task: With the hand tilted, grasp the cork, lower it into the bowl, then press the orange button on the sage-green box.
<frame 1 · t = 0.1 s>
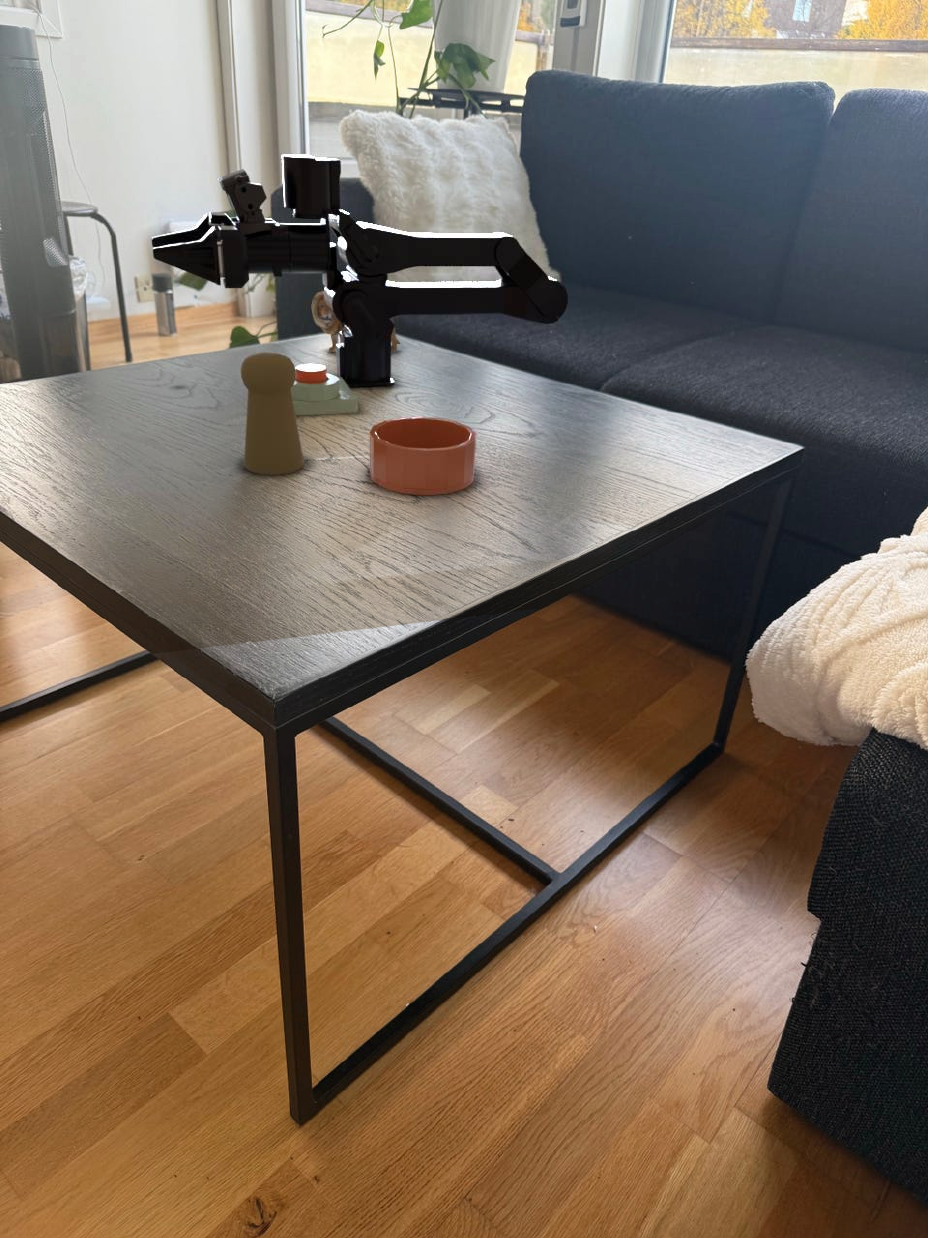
hand: (152, 247, 104), 17 cm above the table, tool horizontal, fingers open, 9 cm apart
bowl: (422, 475, 89), on the table
lion figurine: (356, 353, 133), on the table
button: (311, 374, 106), point 4 cm above the table, slide at 0.1 cm
cork: (274, 466, 90), on the table
button box: (309, 402, 110), on the table
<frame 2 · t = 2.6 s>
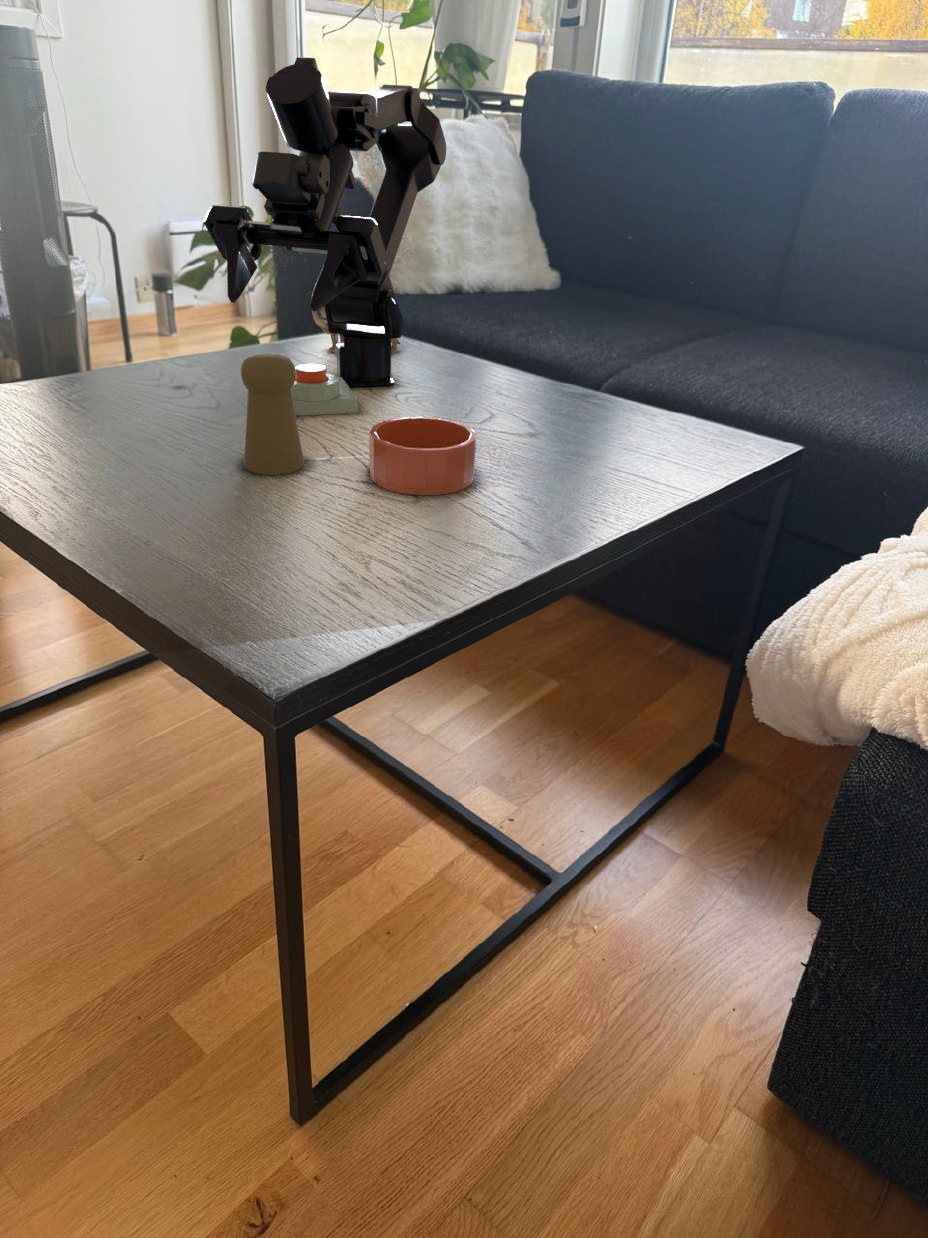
hand: (271, 304, 91), 14 cm above the table, tool tilted 50°, fingers open, 9 cm apart
nothing on the table moved.
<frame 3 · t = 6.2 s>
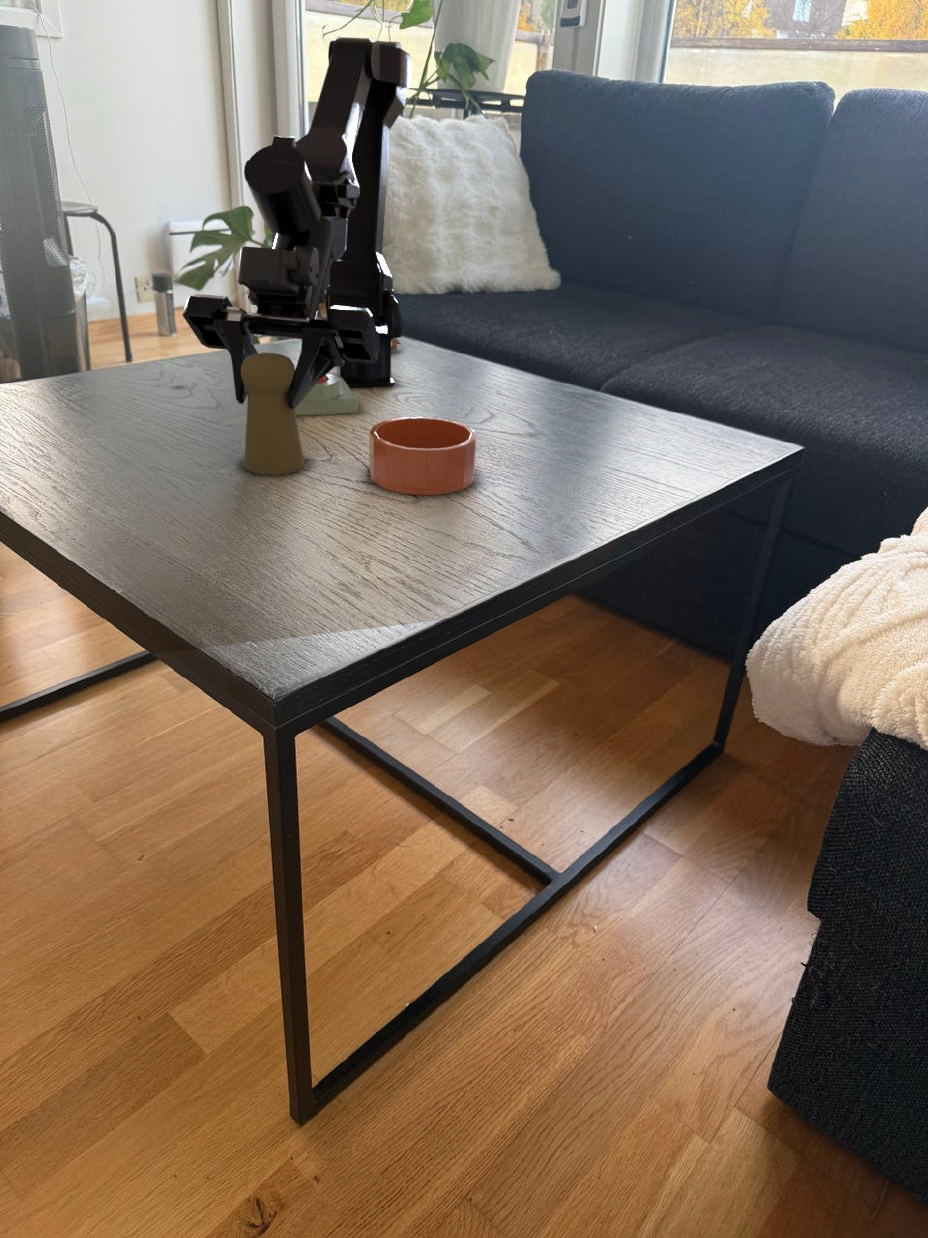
hand: (264, 404, 86), 7 cm above the table, tool tilted 45°, fingers closed on cork, 5 cm apart
cork: (274, 466, 90), on the table, touching gripper
everything else where it was.
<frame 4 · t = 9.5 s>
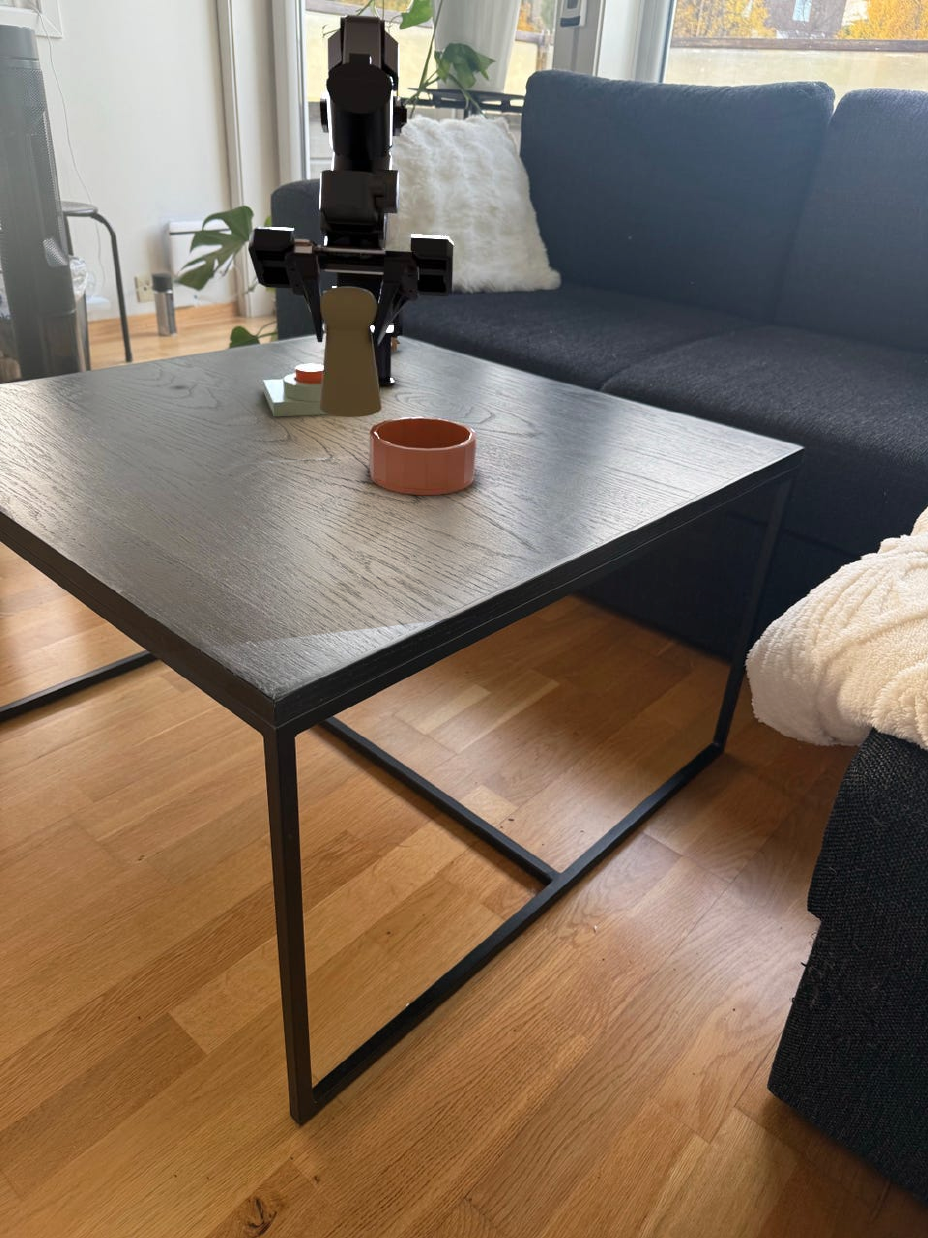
hand: (347, 341, 81), 13 cm above the table, tool tilted 45°, fingers closed on cork, 5 cm apart
cork: (350, 409, 86), point 7 cm above the table, touching gripper
everything else where it was.
when the fingers open (7 cm above the table, at t = 12.9 s): cork stays where it is, resting on bowl.
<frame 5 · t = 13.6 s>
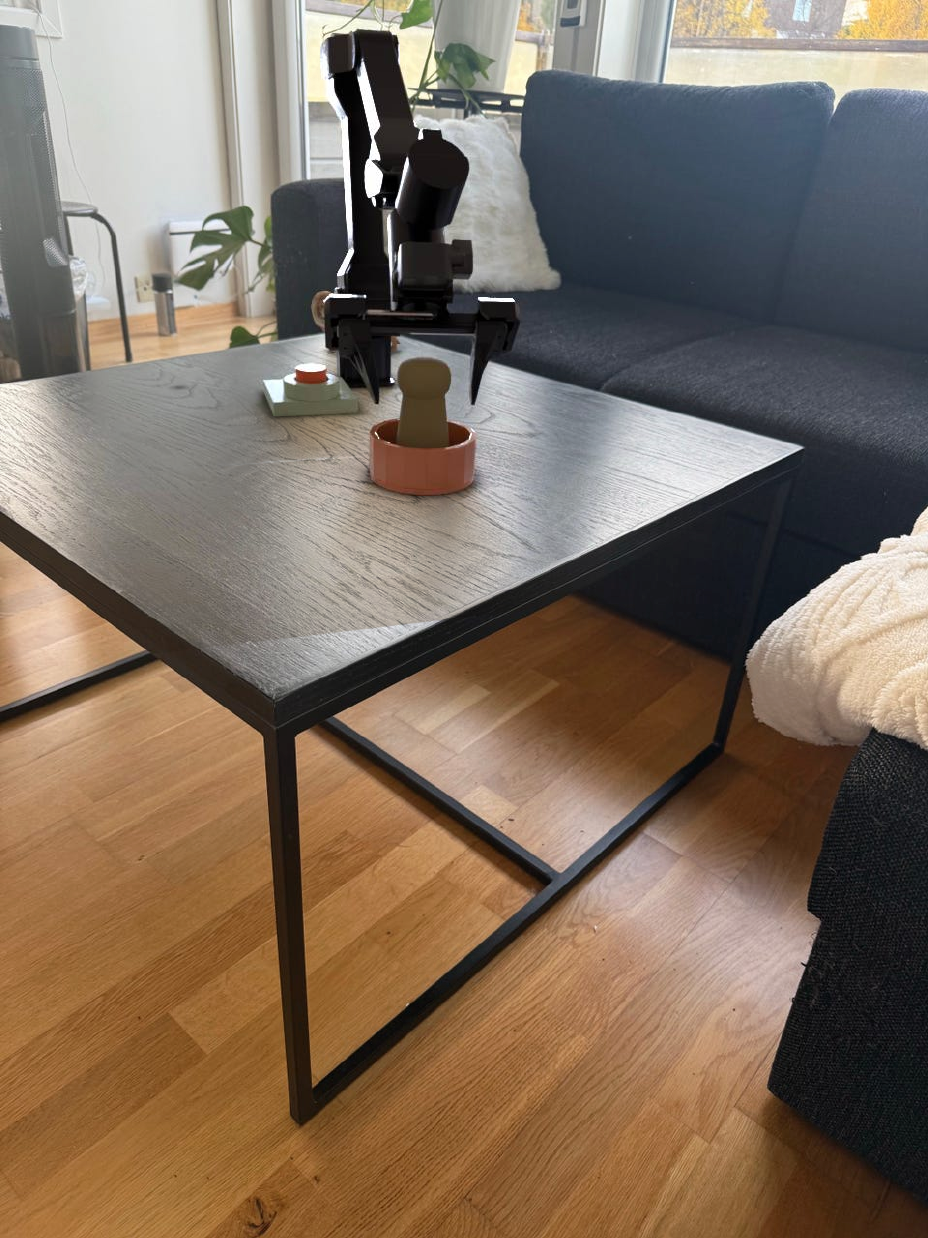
hand: (425, 402, 84), 8 cm above the table, tool tilted 45°, fingers open, 9 cm apart
cork: (421, 471, 89), resting on bowl
everything else where it was.
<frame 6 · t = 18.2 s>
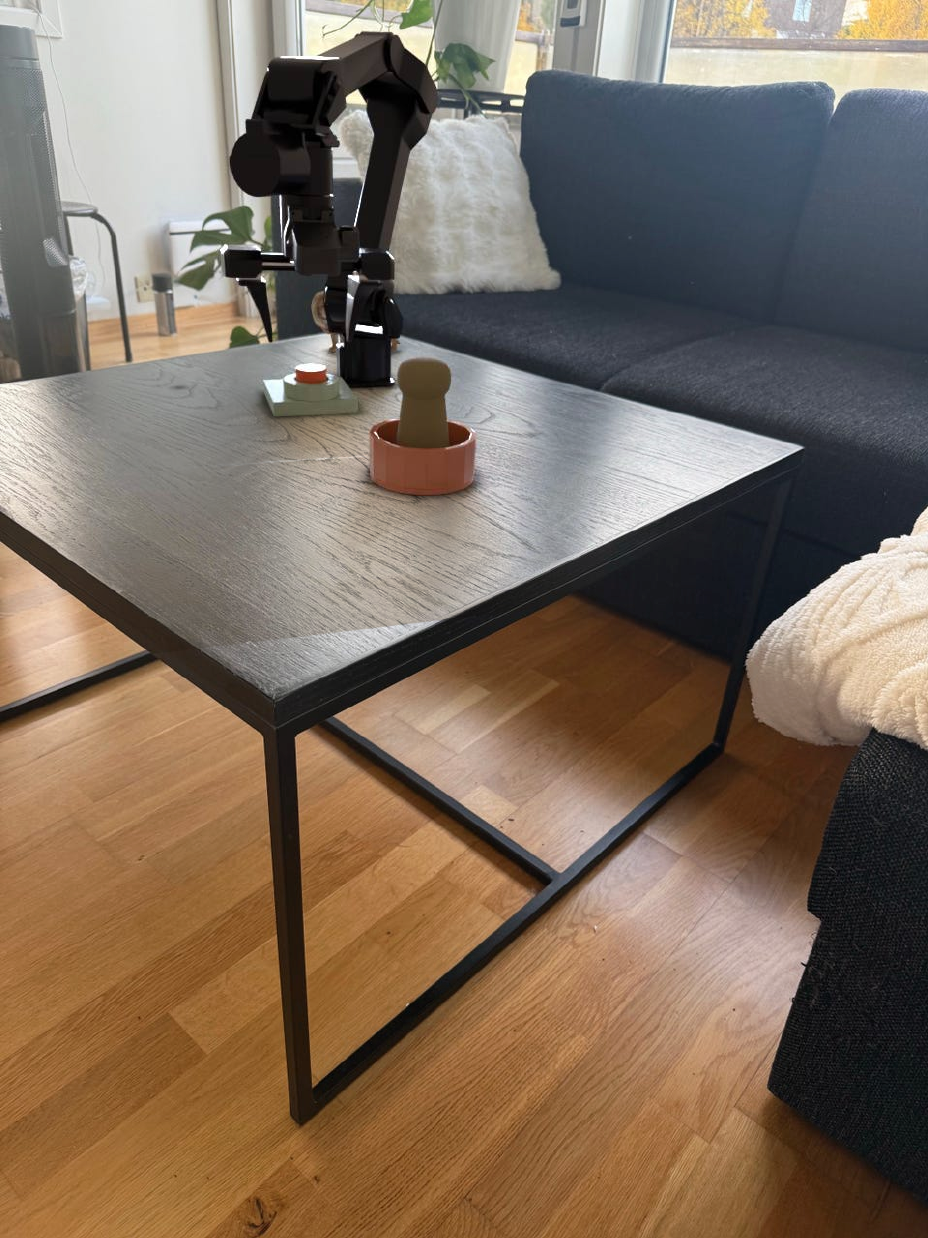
hand: (310, 341, 104), 8 cm above the table, tool pointing down, fingers open, 9 cm apart
nothing on the table moved.
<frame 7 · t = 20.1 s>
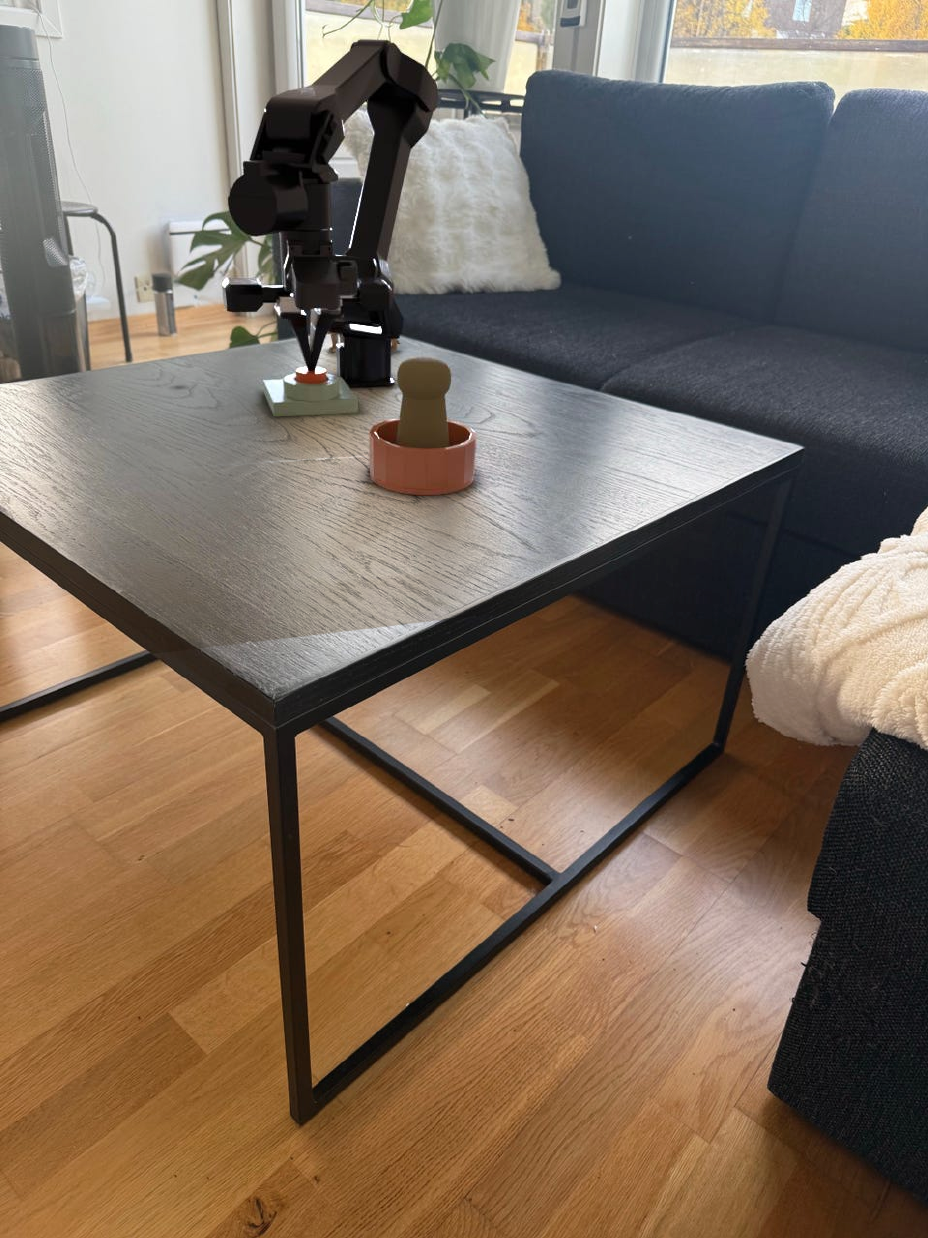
hand: (311, 369, 106), 5 cm above the table, tool pointing down, fingers closed, pressing on button
button: (311, 377, 106), point 4 cm above the table, slide at -0.2 cm, touching gripper
everything else where it was.
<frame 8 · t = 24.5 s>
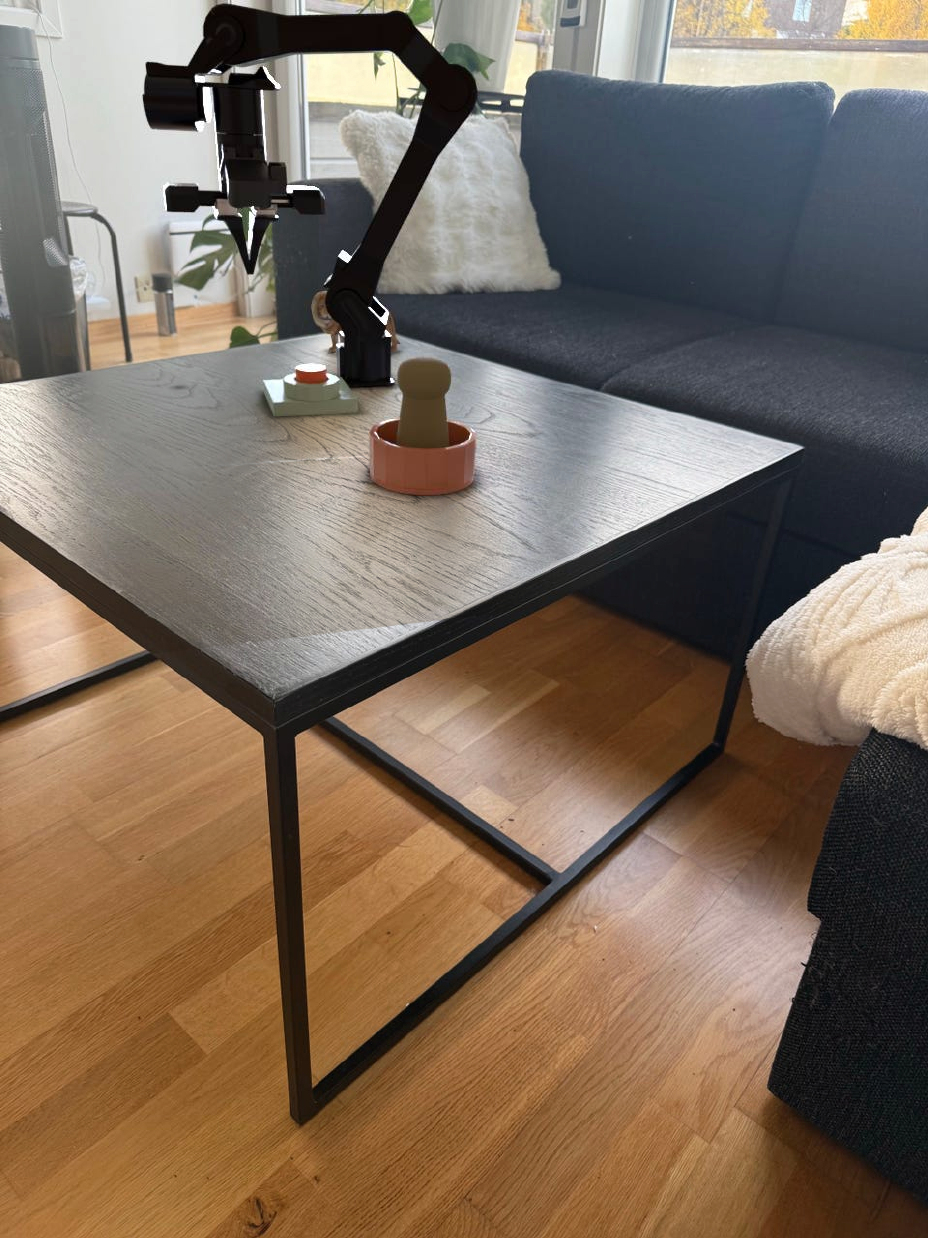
hand: (250, 274, 112), 13 cm above the table, tool pointing down, fingers closed
button: (311, 374, 106), point 4 cm above the table, slide at 0.1 cm
everything else where it was.
at the end: cork 0.2 cm off-centre in the bowl, point 0.4 cm above the bowl's base; cork tilted 0°; button pushed in 1.2 cm at the most during the clip, back to where it started at the end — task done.
